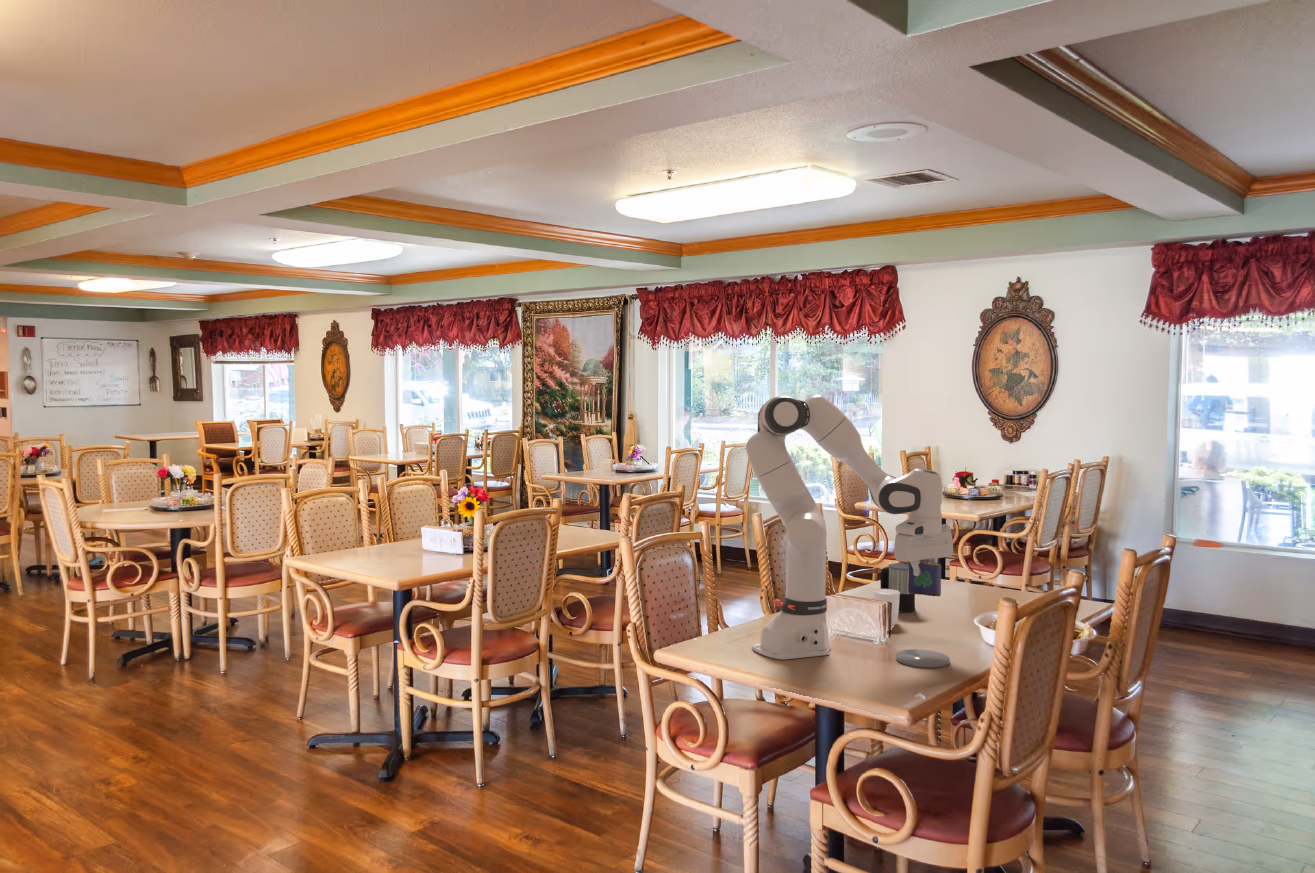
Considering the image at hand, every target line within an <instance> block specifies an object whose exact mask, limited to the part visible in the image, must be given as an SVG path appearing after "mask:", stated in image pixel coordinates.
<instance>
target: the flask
mask: <svg viewBox="0 0 1315 873" xmlns="http://www.w3.org/2000/svg"><path fill="white" fill-rule="evenodd" d="M910 562H911V561H909V562H908V564H909V581H908V591H909V593H912V594H915V595H919V596H920V595H921V596H922V595H923V596H927V597H929V596H930V597H941V595H942V565H941V563H937V564H934V563H930V562H928V559H926V560H920V564H918V566H919V569H921V570H922V575H921V576H915V575H914V574H913V568H912V565H911V563H910Z"/></svg>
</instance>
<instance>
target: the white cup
mask: <svg viewBox="0 0 1315 873" xmlns="http://www.w3.org/2000/svg"><path fill="white" fill-rule="evenodd" d="M899 598H900V592H899V591H897V590H892V589H881V588H878V589H875V590H873V599H874V600H884V601H889V602H891V603H892V626H896V625H898V619H899V618H898V617H899V613H900V612H899Z"/></svg>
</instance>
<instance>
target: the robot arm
mask: <svg viewBox="0 0 1315 873" xmlns="http://www.w3.org/2000/svg"><path fill="white" fill-rule="evenodd" d="M798 430H803V431H804V432H806V433H807V434H809V435H810V436H811V437H812V439H813V440H814V441H815V442H816V443H817V444H818V445H819V446H820V447H821V448H822V449H823V450H824V451H825V452H827V453H828V454H829V455H830V456H831V457H833V458H835V459H836V460H839V461H840V462H842V463H843V464H846V465H847V466H848V467H850V469H851V470H852V471H853V472H854V474H856V475H857V476H858V477H859V478H860V480H861V481H862V482H863V483H864V485H866V487H867V488H868V491H869V494H870V497H871V500H872V501H873V503H874V505H875V506H877V508H879V509H881V510H883V511H884V512H885V513H887V514H890V515H900V514H907V513H909V514H908V518H907V519H906V520H904V521H903V522H901V523H900V522H899V523H898V524H897V525H896V526H895V533H897V535H896V536H895V539H894V554H893V555H894V558H895V560H896V561H897V562H902V563H907V562H908V563H909V562H910V561H911V562H910V563H911V565H912V568H913V574H914V575H915V576H921V575H922V570H921V569H919V566H918V564H920V561H921V560H926V559H927V560H928V562H929V563H934V564H938V560H939V559H941V558H942V559H943V558H948V557H949V558H950V557H952V556H953V554H954V542H953V541H954V540H953V535H952V534H953V533H952V529H951V527H950V526H949V525H948V524H946V523H945V524H944V523H943V524H942V522H943V521H942V520H943V519H942V518H943V515H942V510H941V507H942V503H943V482H942V477H941V475H940V474H939V473H938V472H936V471H934V470H931V469H926V468H920V467H916V468H913V469H912V470H911V471H910V472H907V473H906V474H904V475H901V476H899V477H895V476H893V475H890V474H888V473H886V472H885V471H884V470H882V468H880V466H879V465H878V464H877V462H875V461H874V460H873V458H872V457H871V456H870V455H869V453H867V451H866V450H865V448H864V445H863V443H862V437H861V434H860V432H859V431H858V429H857V427H856V426H855V425H854V423H853V422H852V421H851V419H850V418H849V417H848V416H846V415H845V413H844V412H843V411H842V410H840V409H839V408H838V407H837V405H835V404H834V403H833V402H832V401H830V400H829V399H827V398H826V397H825V396H823V395H821V394H814V395H811V396H808V397H807V398H805V399H804V400H802V399H798V398H796V397H792V396H789V395H780V396H779V395H778V396H775V397H772V398H770V399H768V400H767V401H766V402H765V403H764V404H763V405H762V406H761V408H760V409H759V411H758V416H757V432H755V433H754V434H753V435H752V436H750V437H749V439H748V440H747V442H746V444H745V449H746V454H747V457H748V459H749V462H750V465H751V468H752V470H753V472H754V474H755V477H756V478H757V480H758V481H759V483H760V486H761V487H762V490H763V492H764V494H765V496H766V498H767V500H768V501H769V503H770V505H771V506H772V508H773V509H774V511H775V512H776V514H777V516H778V517H779V519H780V521H781V523H782V524H783V526H784V528H785V596H784V598H783V600H782V599H778V598H775V599H774V600H773V605H774V607H778V608H780V611H779V612H778V613H777V614H776V615H774V617H772V619H770V621H769V622H767V623H766V624H765V625H764V626H763V628H762V630H761V633H760V634H761V635H760V642H758V643H757V642H756V643H754V644H752V646H751V647H752V648H751V649H752V650H753V651H754V652H756V653H758V654H760V655H762V656H765V657H768V658H771V659H775V660H776V659H777V660H793V659H802V658H810V657H811V658H812V657H819V656H820V657H821V656H827V655H830V650H831V645H830V641H829V636H828V628H827V618H826V612H827V611H828V603H827V602H828V600H827V597H826V582H827V581H826V576H827V574H826V572H827V566H826V564H827V563H826V562H827V535H828V534H827V533H828V532H827V524H826V520H825V518H824V516H823V514H822V512H821V511H820V508H819V507H818V505H817V503H816V502H815V500H814V498H813V495H812V494H811V492H810V491H809V489H808V487H807V485H806V484H805V481H804V479H803V478H802V476H801V474H800V472H799V470H798V468H797V467H796V465H795V463H794V461H793V459H792V457H791V455H790V454H789V451H788V449H787V447H786V442H785V441H786V436H788V435H790V434H792V433H795V432H796V431H798Z"/></svg>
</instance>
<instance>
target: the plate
mask: <svg viewBox="0 0 1315 873" xmlns="http://www.w3.org/2000/svg"><path fill="white" fill-rule="evenodd" d="M895 660H896V661H897V662H898V663H900V664H902V665H905V666H909V667H912V668H913V667H914V668H919V669H939V668H944V667H947V666H949V665H950V664H951V663H950V660H951V659H950V657H949V656H948V655H946V654H945V653H941V652H939V651H934V650H927V649H916V648H915V649H904V650H901V651H897V652H896V653H895Z"/></svg>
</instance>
